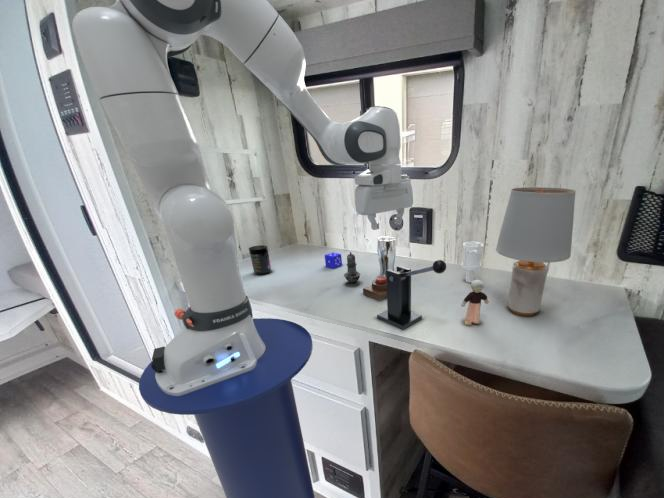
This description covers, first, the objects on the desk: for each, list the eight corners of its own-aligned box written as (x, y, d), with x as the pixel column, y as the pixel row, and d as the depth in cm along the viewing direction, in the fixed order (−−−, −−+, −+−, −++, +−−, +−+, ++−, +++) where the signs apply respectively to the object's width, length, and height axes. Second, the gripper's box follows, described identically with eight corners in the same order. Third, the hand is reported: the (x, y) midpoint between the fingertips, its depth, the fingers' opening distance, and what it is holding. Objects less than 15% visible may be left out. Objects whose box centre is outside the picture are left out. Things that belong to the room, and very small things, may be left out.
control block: (379, 300, 99) (379, 289, 97) (363, 294, 104) (362, 283, 102) (400, 291, 105) (400, 280, 104) (383, 285, 110) (383, 275, 109)
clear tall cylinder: (467, 285, 109) (471, 244, 103) (456, 279, 115) (459, 239, 109) (483, 282, 112) (488, 242, 106) (471, 276, 118) (475, 237, 112)
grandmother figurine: (466, 328, 82) (470, 284, 77) (458, 322, 85) (461, 279, 80) (489, 322, 85) (494, 279, 80) (480, 316, 88) (485, 275, 83)
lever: (450, 270, 72) (446, 257, 71) (442, 273, 70) (438, 260, 69) (401, 280, 84) (397, 269, 84) (393, 284, 82) (389, 272, 82)
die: (325, 266, 131) (324, 255, 128) (334, 263, 134) (333, 252, 132) (333, 268, 128) (332, 257, 126) (342, 265, 132) (341, 254, 130)
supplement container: (269, 275, 121) (264, 249, 117) (252, 276, 121) (246, 250, 116) (274, 269, 128) (269, 245, 123) (257, 270, 127) (251, 245, 122)
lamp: (482, 296, 101) (495, 187, 86) (541, 297, 100) (563, 186, 86) (497, 325, 83) (516, 194, 69) (568, 326, 83) (602, 193, 68)
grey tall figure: (352, 279, 116) (350, 248, 111) (364, 282, 113) (362, 251, 108) (341, 284, 112) (338, 252, 107) (353, 287, 109) (350, 255, 104)
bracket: (421, 319, 87) (422, 269, 81) (403, 330, 82) (402, 278, 75) (395, 308, 93) (395, 262, 87) (377, 318, 88) (374, 269, 82)
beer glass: (375, 275, 120) (374, 237, 113) (392, 273, 122) (391, 235, 116) (382, 281, 114) (380, 241, 108) (399, 278, 116) (398, 239, 110)
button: (381, 285, 101) (381, 280, 100) (374, 283, 103) (373, 278, 102) (389, 282, 103) (389, 277, 102) (381, 280, 105) (381, 275, 105)
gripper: (402, 174, 93) (402, 220, 99) (349, 178, 80) (353, 231, 86) (418, 174, 90) (417, 222, 95) (365, 178, 76) (368, 234, 82)
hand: (387, 226), depth 91 cm, fingers open, 8 cm apart
